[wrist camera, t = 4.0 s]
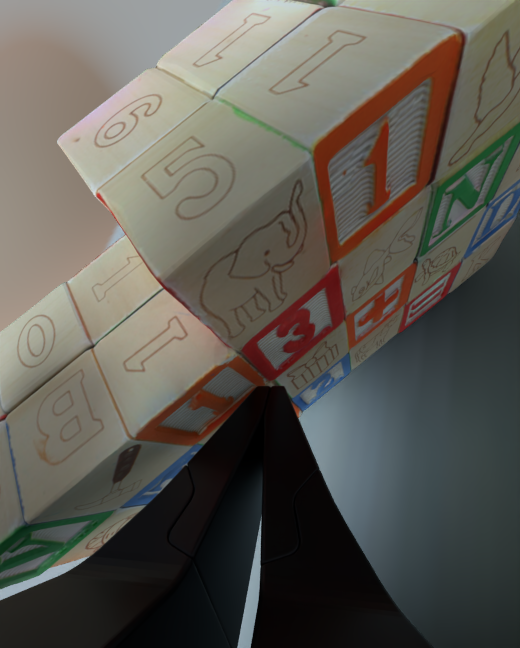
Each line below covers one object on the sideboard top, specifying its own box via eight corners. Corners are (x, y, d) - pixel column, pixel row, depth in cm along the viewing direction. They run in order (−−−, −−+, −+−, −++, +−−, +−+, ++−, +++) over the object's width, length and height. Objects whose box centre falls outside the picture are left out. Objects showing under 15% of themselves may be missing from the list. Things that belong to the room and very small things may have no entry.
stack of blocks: (158, 539, 15) (-394, 724, 4) (115, 429, 18) (-257, 372, 7) (495, 256, 15) (788, -231, 5) (396, 199, 18) (435, -169, 8)
